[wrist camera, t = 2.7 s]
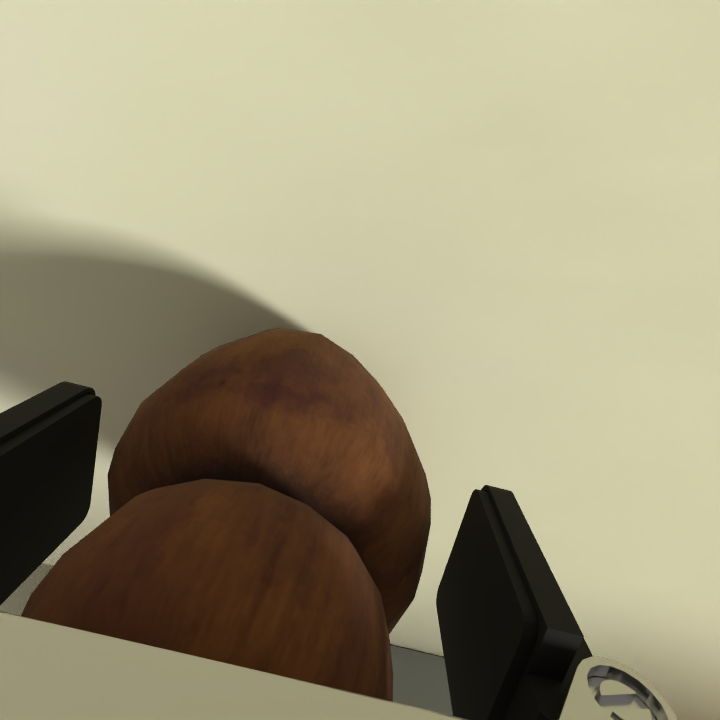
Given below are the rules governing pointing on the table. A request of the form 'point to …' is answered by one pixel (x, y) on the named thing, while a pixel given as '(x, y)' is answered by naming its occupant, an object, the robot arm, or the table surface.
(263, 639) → the wooden figurine
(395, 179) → the table surface
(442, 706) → the slate plinth
